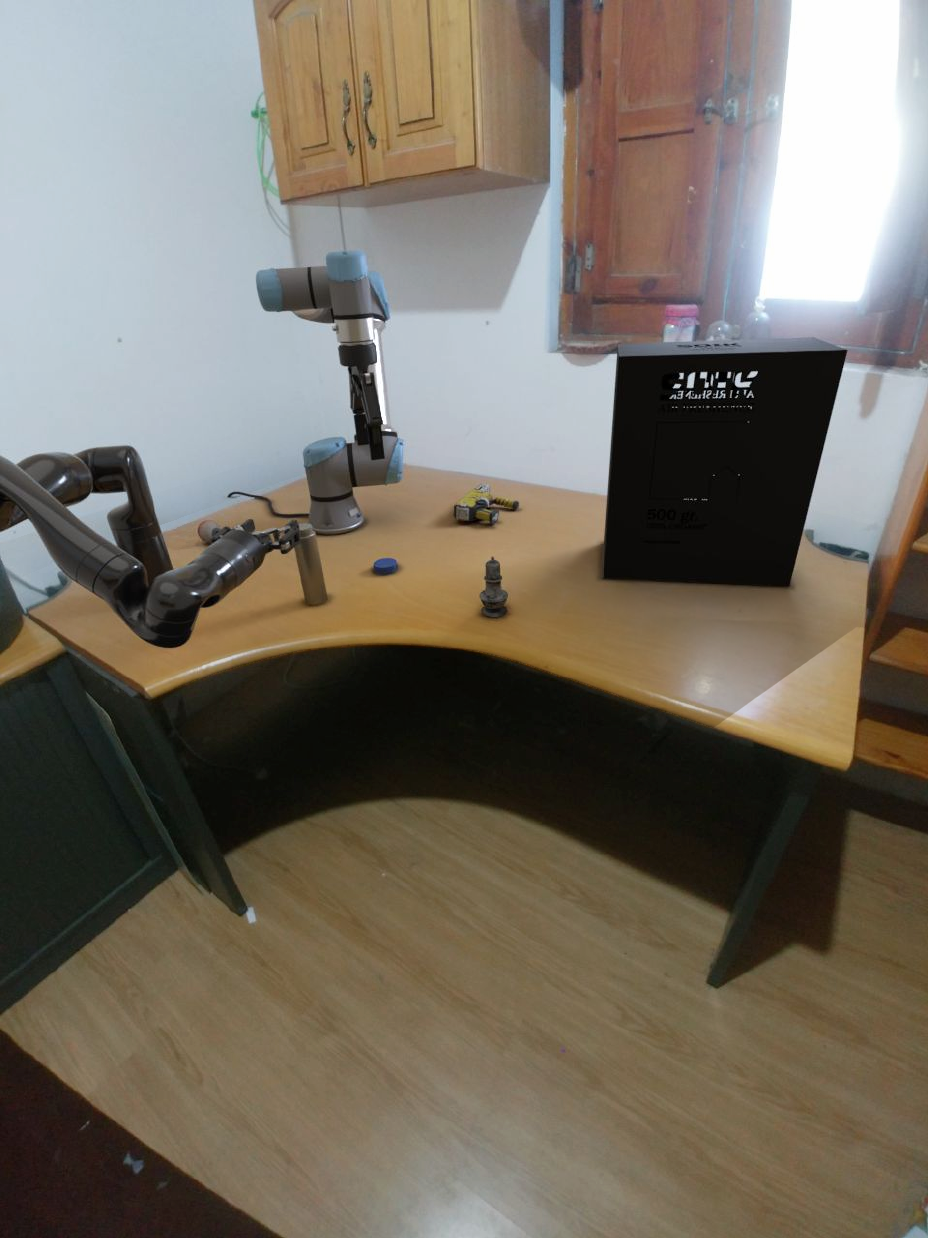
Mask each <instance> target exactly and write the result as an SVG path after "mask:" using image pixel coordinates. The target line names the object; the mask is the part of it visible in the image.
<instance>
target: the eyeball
mask: <svg viewBox="0 0 928 1238" xmlns="http://www.w3.org/2000/svg"><path fill="white" fill-rule="evenodd" d="M221 529H222V527H221V525H220V524H219V523H218V522H217V521H215V520H212V519H207V520H204V521H202V522H201V523H200V524H199V525H198V527H197V535H198V538H199V539H201V540H202V541H203V542H205V543H208V544H211V540H210V538H211V537H213V536H214V535H215V534H216V533H217V532H219V531H220V530H221Z"/></svg>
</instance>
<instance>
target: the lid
mask: <svg viewBox="0 0 928 1238" xmlns="http://www.w3.org/2000/svg"><path fill="white" fill-rule="evenodd" d="M398 569H399V568H398V561H397V559H395V558H393V557H382V558H378V559H377V560H375V561H374V562H373V571H374V573H375V574H378V575H381V576H383V575H385V576H386V575H391V574H394V573H395V572H397V571H398Z"/></svg>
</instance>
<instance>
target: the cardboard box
mask: <svg viewBox="0 0 928 1238" xmlns="http://www.w3.org/2000/svg"><path fill="white" fill-rule="evenodd" d="M848 351H849V350H848V349H847V348H844V347H841V346H838V345H836V344H833V343H830V342H828V341H824V340H822V339H819V338H816V337H813V336H812V337H809V336H808V337H787V338H786V337H785V338H784V337H783V338H753V339H752V338H750V339H749V338H748V339H721V340H719V339H717V340H691V341H690V340H688V341H660V342H631V343H630V342H629V343H628V342H627V343H625V342H624V343H617V348H616V361H615V362H616V363H615V376H614V377H615V378H614V379H615V380H614V391H613V404H612V405H613V406H612V408H613V409H612V418H611V419H612V421H611V434H610V435H611V437H610V449H609V462H608V463H609V464H608V476H607V477H608V478H607V489H606V490H607V492H606V504H605V506H606V507H605V521H604V533H603V534H604V535H603V559H602V560H603V561H602V562H603V566H602V573H603V574H602V579H606V580H612V579H613V580H630V581H631V580H632V581H650V582H651V581H655V582H677V583H697V584H698V583H699V584H720V585H721V584H722V585H723V584H724V585H742V586H767V587H768V586H769V587H787V588H789V587H790V586H791V582H792V578H793V573H794V569H795V566H796V562H797V558H798V557H797V556H798V554H799V550H800V546H801V541H802V538H803V534H804V529H805V525H806V521H807V517H808V514H809V509H810V505H811V501H812V497H813V493H814V488H815V485H816V480H817V476H818V472H819V468H820V464H821V461H822V456H823V452H824V447H825V444H826V440H827V436H828V431H829V428H830V423H831V419H832V415H833V411H834V408H835V403H836V399H837V395H838V391H839V387H840V382H841V379H842V375H843V371H844V367H845V363H846V359H847V354H848ZM753 372H757V373H756V375H754V376H751V377H749V376H750V375H751V373H753ZM702 373H706V377H701V375H702ZM717 373H718V374H717ZM729 373H730V375H729ZM681 374H682V376H683V377H682V378H681ZM692 374H694V378H693V384H692V385H693V386H692V387H688V382H689V377H690V376H691V375H692ZM739 374H740V380H739V383H740V384H741V383H742V384H743V383H750V384H748V386H737V385H736V378H737V376H738V375H739ZM723 383H725V385H724V387H719V384H723ZM706 384H708V385H707V387H706ZM675 385H680V386H679V387H675Z"/></svg>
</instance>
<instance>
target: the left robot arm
mask: <svg viewBox="0 0 928 1238" xmlns="http://www.w3.org/2000/svg"><path fill="white" fill-rule="evenodd" d="M118 493H126V497H127V501H126V502H125V503H123V504H120V505H118V506H116V507H114V508H112V509H111V510H110V511H108V513H107V514H106V520H107V523H108V526H109V528H110V531H111V533H112V536H113V540H114V541H115V544H116V545H115V544H114V543H112V542H111V541H110V540H108V539H106V538H105V537H103V536H102V535H100V534H99V533H98V532H97V531H95V530H93V529H92V528H91V527H90V526H89V525H87V524H86V523H84V522H83V521H82V520H81V519H80V518H79V517H78V516H76V515H75V514H74V513H73V512H72V511H71V510H69V509H68V508H69V507H72V506H75V505H78V504H80V503H82V502H83V501H85V500H86V499H88V497H89V496H90V495H91V494H96V495H97V494H99V495H100V494H101V495H105V494H106V495H107V494H118ZM154 503H155V502H154V498H153V495H152V493H151V488H150V485H149V481H148V477H147V474H146V469H145V466H144V462H143V460H142V457H141V455H140V453H139V451H138V450H137V449H136V448H135V447H134V446H132V445H128V444H121V445H107V446H96V447H90V448H86V449H84V450H81V451H78V452H75V453H69V452H65V451H52V452H51V451H49V452H42V453H36V454H33V455H29V456H26V457H25V458H23V459H22V460H20V461H19V462H17V463H15V462H13V461H11V460H9V458H6V457H5V456H4V455H1V454H0V533H2V532H4V531H6V530H9V529H11V528H14V527H15V526H17V525H19V524H21V523H23V522H25V521H27V520H28V521H29V522H30V523H31V525H32V526H33V528H34V529H35V532H36V533H37V534H38V536H39V537H40V540H41V542H42V544H43V545H44V548H45V549H46V551H47V552H48V554H49V556H50V557H51V559H52V560H53V562H54V563H55V564H56V566H57V567H58V568H59V569H60V570H61V572H62V573H63V574H64V575H66V576H67V577H68V578H69V579H70V580H72V581H73V582H75V583H76V584H78V585H79V586H82V587H83V588H84V589H86V590H87V591H89V592H90V593H92V594H94V595H95V596H97V597H98V598H99V599H102V600H103V601H104V602H106V603H107V605H108V606H109V607H110V609H111V610H112V611H113V612H114V613H115V614H116V615H117V616H118V618H119V619H120V620H122V622H123V623H124V624H125V625H126V626H127V627H128V628H129V629H130V631H132V632H133V633H134V634H135V635H136V636H137V637H138V638H140V639H141V640H142V641H144V642H146V643H148V644H150V645H152V646H154V647H157V648H162V649H177V648H179V647H182V646H184V645H185V644H187V643H188V642H189V640H190V639H191V637H192V635H193V632H194V629H195V627H196V623H197V620H198V617H199V614H200V611H201V609H207V608H211V607H214V606H215V605H217V604H219V603H220V602H221V601H222V600H223V599H224V598H226V597H227V596H228V595H229V594H230V593H231V592H232V591H234V590H235V589H236V588H238V587H240V586H241V585H243V584H244V582H245V581H246V580H248V579H249V578H250V577H251V576H252V575H253V574H254V573H255V572H256V571H257V570H258V569H259V568H260V567H262V565H263V563H264V561H265V557H266V555H267V554H269V553H273V551H275V550H277V551H279V550H280V555H287V554H289V553H290V552H291V551H292V550H293V549H294V547H295V546H297V545H298V544H299V543H300V542H301V539H300V535H299V531H300V529H299V524H300V523H299V522H298V520H297V519H291V520H290V521H289V522H287V523H286V524H285V525H284V526H282V527H280V528H276V527H270V528H267V529H264V530H256V525H255V520H254V519H253V518H248V519H246V520H245V521H244V522H242V523H241V524H237V525H234V526H233V528H231V527H230V526H226V525H225V526H224V527H221V530H220V531H219V532H217V533H216V534H215V535H214V536H213V537H211V538H210V540H211V543H210V545H209V546H208V547H206V548H205V549H204V550H203V551H202V552H201V553H200V554H199V555H198V556H197V557H196V558H194V559H193V560H192V561H190V562H189V563H187V565H183V566H180V567H177V568H174V565H173V564H172V562H173V561H172V560H171V556H170V553H169V550H168V547H167V544H166V540H165V538H164V534H163V532H162V529H161V526H160V522H159V519H158V517H157V516H158V515H157V513H156V510H155V505H154ZM283 533H284V534H283ZM281 534H283V535H282V536H281ZM271 535H272V537H273V538H272V537H271Z"/></svg>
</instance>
